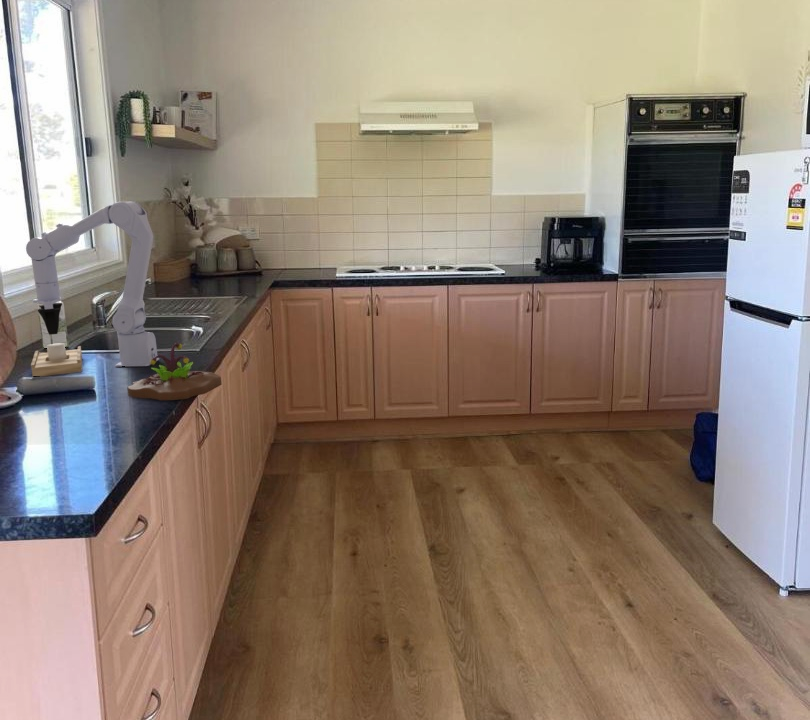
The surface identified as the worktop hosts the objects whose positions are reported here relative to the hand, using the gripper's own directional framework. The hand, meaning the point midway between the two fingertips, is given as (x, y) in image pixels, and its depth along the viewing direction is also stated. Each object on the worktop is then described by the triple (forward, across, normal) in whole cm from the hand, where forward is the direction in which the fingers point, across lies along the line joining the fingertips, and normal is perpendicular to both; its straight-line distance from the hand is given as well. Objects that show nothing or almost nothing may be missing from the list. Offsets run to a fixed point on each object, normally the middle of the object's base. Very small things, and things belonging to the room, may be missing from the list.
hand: (53, 331), depth 211 cm
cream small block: (+10, 0, 0) cm, 10 cm away
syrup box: (+10, -30, -2) cm, 32 cm away
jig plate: (+10, 0, 0) cm, 10 cm away
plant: (+11, +42, +27) cm, 51 cm away
